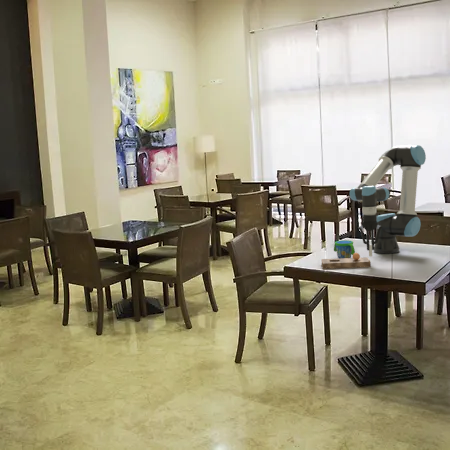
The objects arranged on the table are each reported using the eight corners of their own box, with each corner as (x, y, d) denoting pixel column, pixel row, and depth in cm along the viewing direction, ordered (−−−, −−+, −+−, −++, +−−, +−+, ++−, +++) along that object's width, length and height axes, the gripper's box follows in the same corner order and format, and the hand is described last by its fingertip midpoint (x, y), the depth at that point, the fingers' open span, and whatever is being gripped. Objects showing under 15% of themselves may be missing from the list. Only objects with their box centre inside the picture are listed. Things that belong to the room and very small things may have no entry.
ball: (359, 259, 327) (359, 252, 326) (360, 260, 323) (360, 253, 322) (352, 259, 327) (352, 252, 327) (353, 260, 323) (352, 253, 323)
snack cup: (359, 259, 340) (359, 242, 339) (345, 262, 336) (344, 244, 334) (343, 255, 354) (343, 239, 353) (329, 257, 350) (328, 241, 348)
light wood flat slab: (367, 262, 331) (367, 257, 330) (370, 267, 319) (370, 261, 318) (321, 264, 334) (321, 259, 333) (322, 268, 322) (322, 263, 322)
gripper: (358, 215, 318) (359, 257, 321) (382, 214, 316) (383, 256, 319) (356, 213, 325) (358, 255, 328) (380, 212, 323) (381, 254, 327)
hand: (370, 255), depth 324 cm, fingers closed
